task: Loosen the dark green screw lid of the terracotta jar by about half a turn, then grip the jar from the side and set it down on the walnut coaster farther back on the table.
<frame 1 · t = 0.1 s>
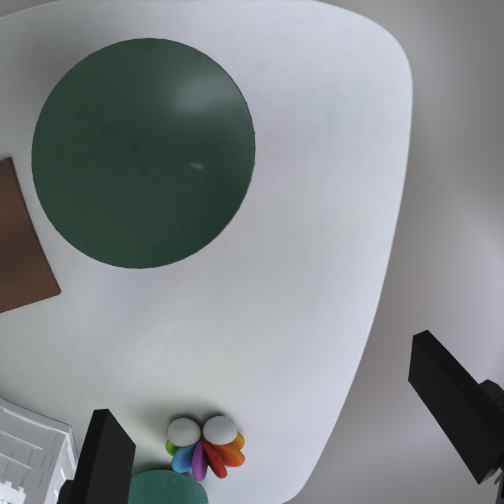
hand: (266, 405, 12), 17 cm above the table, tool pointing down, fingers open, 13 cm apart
mug: (155, 476, 39), on the table
rainbow fan wheeled toy: (204, 431, 35), on the table
lid: (134, 153, 12), point 13 cm above the table, screwed on, not yet turned
castle model: (36, 436, 34), on the table
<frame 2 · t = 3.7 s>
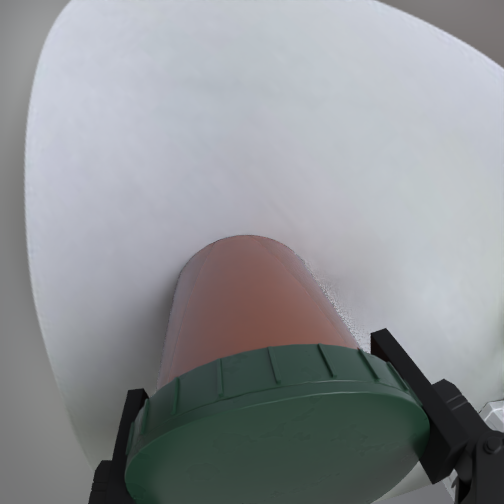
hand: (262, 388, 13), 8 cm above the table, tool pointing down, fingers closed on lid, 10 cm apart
jar: (244, 302, 20), on the table
lid: (283, 485, 8), point 13 cm above the table, screwed on, not yet turned, touching gripper
castle model: (481, 431, 34), on the table
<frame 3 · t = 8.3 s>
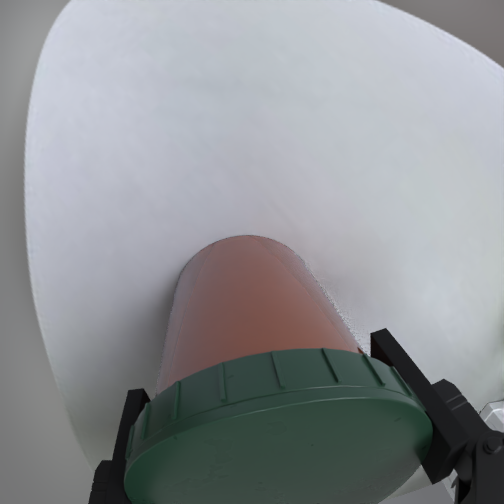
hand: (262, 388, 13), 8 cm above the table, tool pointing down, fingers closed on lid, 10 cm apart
jar: (245, 302, 20), on the table
lid: (285, 489, 8), point 13 cm above the table, turned 90° so far, risen 0.1 cm, still on its thread, touching gripper
castle model: (481, 432, 34), on the table
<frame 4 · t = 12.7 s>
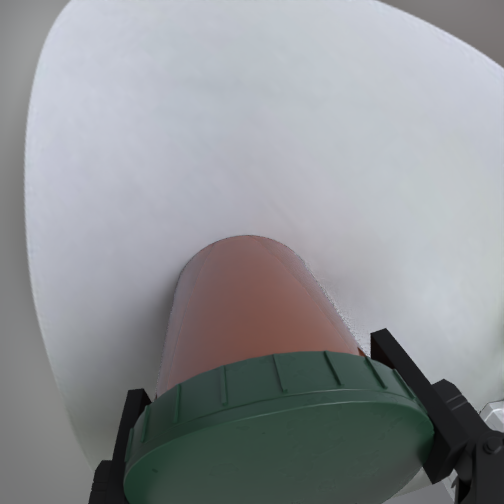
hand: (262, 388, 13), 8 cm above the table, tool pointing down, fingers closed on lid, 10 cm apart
jar: (245, 302, 20), on the table
lid: (285, 492, 8), point 13 cm above the table, turned 179° so far, risen 0.2 cm, still on its thread, touching gripper
castle model: (481, 432, 34), on the table
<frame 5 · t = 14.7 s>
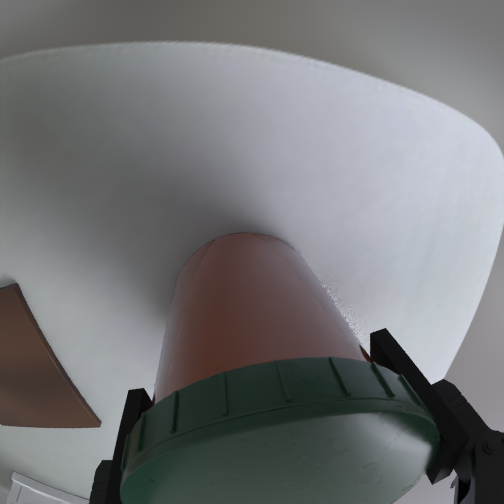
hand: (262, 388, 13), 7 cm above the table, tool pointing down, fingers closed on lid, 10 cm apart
jar: (245, 301, 20), on the table
lid: (287, 500, 7), point 13 cm above the table, turned 269° so far, risen 0.4 cm, still on its thread, touching gripper
coaster: (4, 369, 20), on the table
when the fingers open (7 cm above the table, at t = 15.1 s): lid stays where it is, point 13 cm above the table.
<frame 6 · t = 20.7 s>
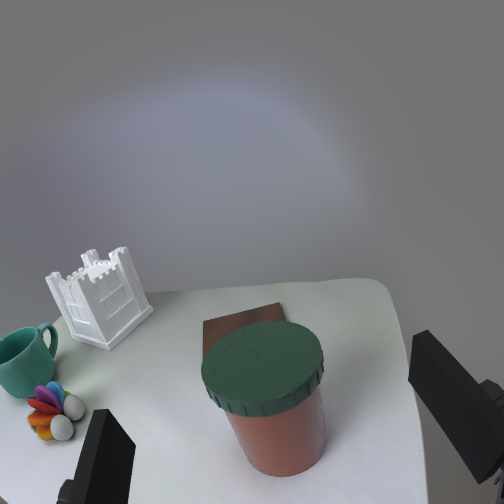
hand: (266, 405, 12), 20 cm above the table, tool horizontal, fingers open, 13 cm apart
mug: (43, 380, 47), on the table
jar: (285, 443, 30), on the table
rainbow fan wheeled toy: (63, 424, 36), on the table
lid: (260, 359, 25), point 13 cm above the table, turned 269° so far, risen 0.4 cm, still on its thread
castle model: (112, 326, 62), on the table
coaster: (245, 336, 50), on the table
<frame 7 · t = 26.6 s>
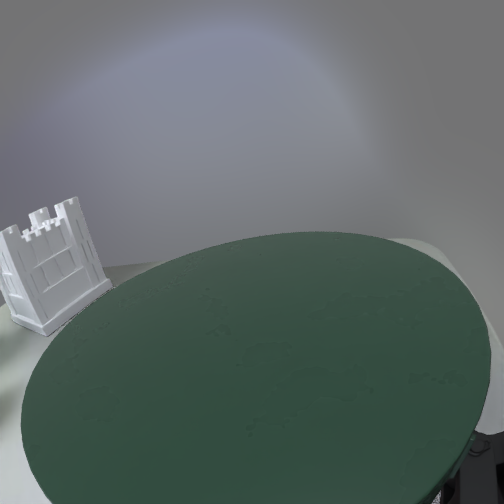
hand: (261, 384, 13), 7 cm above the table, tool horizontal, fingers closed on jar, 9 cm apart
lid: (235, 336, 7), point 13 cm above the table, turned 269° so far, risen 0.4 cm, still on its thread
castle model: (60, 306, 44), on the table
when the fingers open (8 cm above the table, at t = 35.5 s): jar stays where it is, resting on coaster.
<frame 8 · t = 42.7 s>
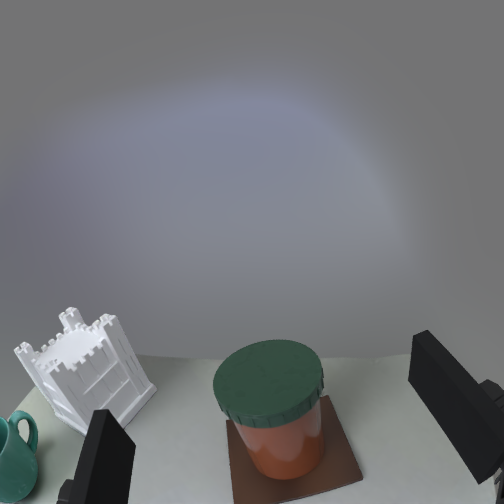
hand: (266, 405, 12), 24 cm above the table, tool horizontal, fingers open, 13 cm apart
mug: (27, 475, 29), on the table
jar: (287, 449, 32), point 1 cm above the table, touching coaster
lid: (267, 376, 27), point 14 cm above the table, turned 269° so far, risen 0.4 cm, still on its thread
castle model: (105, 406, 45), on the table
coaster: (288, 451, 32), on the table
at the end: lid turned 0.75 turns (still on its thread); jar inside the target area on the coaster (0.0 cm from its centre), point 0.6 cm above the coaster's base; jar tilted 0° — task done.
